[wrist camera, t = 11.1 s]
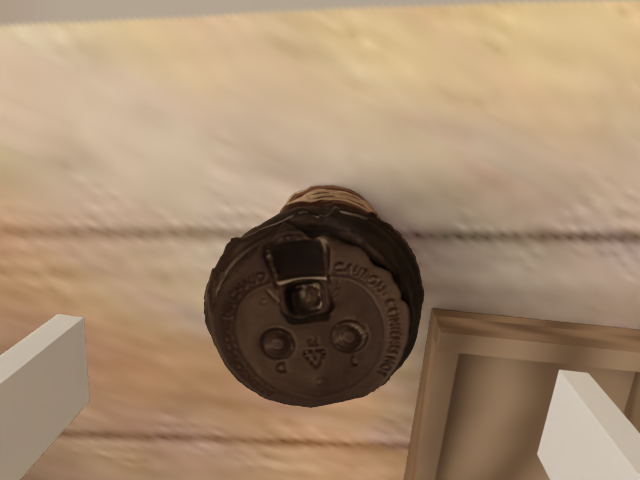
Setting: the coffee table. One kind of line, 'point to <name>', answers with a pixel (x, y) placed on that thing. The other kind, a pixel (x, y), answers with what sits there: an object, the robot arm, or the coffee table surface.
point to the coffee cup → (315, 301)
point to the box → (507, 390)
